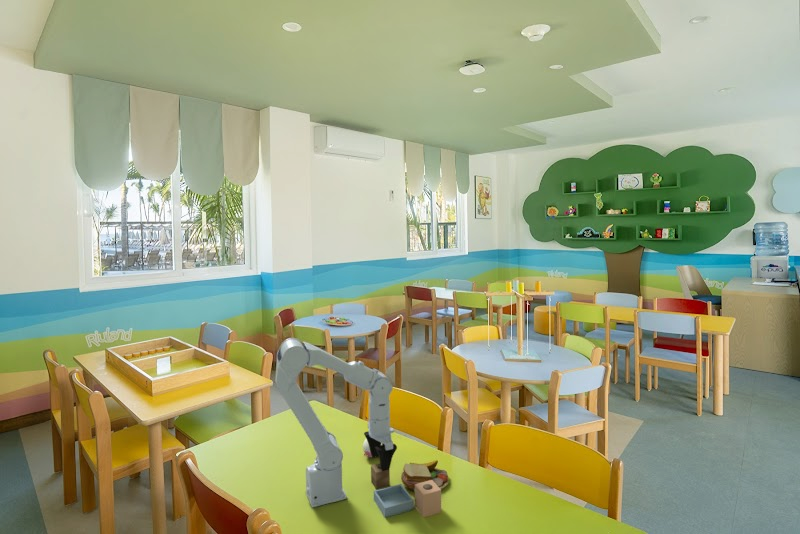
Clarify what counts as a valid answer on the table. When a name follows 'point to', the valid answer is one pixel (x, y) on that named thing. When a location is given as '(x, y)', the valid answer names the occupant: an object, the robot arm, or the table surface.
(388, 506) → the tray
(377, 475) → the walnut block
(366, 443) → the stress ball
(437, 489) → the terracotta block
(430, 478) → the toy sandwich meal
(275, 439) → the table surface
